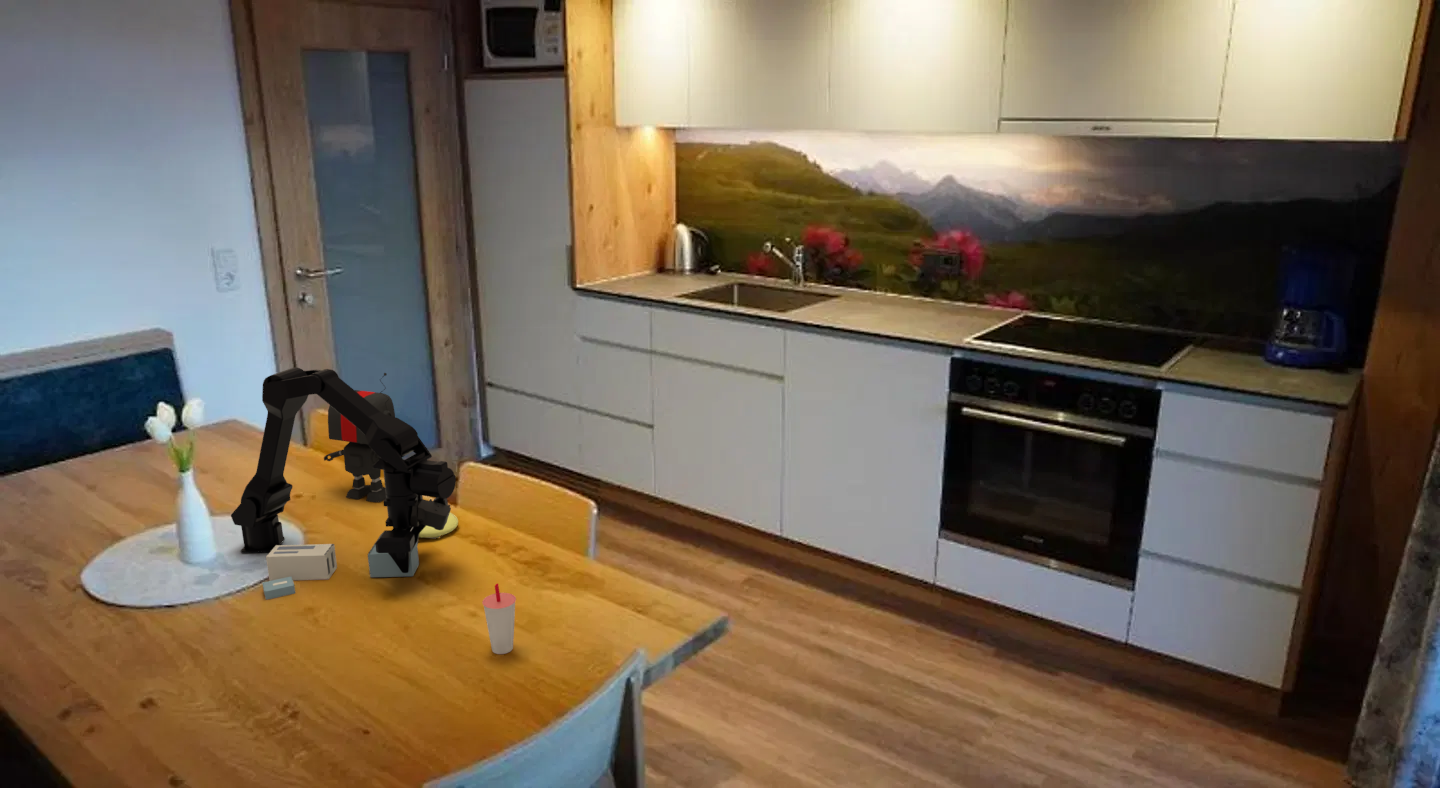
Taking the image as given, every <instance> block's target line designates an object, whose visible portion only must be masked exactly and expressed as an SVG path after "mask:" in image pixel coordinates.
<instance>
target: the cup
mask: <svg viewBox="0 0 1440 788" xmlns="http://www.w3.org/2000/svg"><path fill="white" fill-rule="evenodd" d="M499 587H500V586H499V583H495V585H494V590H495V593H492V594H490V595H487V596H486V597H484V598H483V600H482V605H483V608H484V609H483V610H484V614H485V620H486V624H487V631H488V636H489V641H490V646H491V651H492V653H494V654H497V655H504V654H508V653H511V651H512V650H513V649H514V638H515V637H514V636H515V635H514V634H515V614H516V613H515V612H516V600H517V598H516V596H515V595H514V594H512V593H508V592H500V588H499Z"/></svg>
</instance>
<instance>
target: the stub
mask: <svg viewBox="0 0 1440 788" xmlns="http://www.w3.org/2000/svg"><path fill="white" fill-rule="evenodd" d="M367 561H368V562H367V563H368V569H369V570H368V571H369V577H370V578H393V577H396V578H397V577H399V578H400V577H414V575H415V573H416V571H417V569H418V567H419V565H420V560H419V551H418V546H417V543H416V544H415V546H414V547H413V548H412V550H411V551H410V562H409V571H408V573H402V572H401V570H400V569H399V567H398V566H397V564H396V563H395V562H394V560H393V559H392V557H391V556H390V555H389V554H388V553H377V552H376V544H375V543H374V544H373V546H372V547H371V548H370V550H369V552H368V554H367Z"/></svg>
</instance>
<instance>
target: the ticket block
mask: <svg viewBox="0 0 1440 788" xmlns="http://www.w3.org/2000/svg"><path fill="white" fill-rule="evenodd" d="M336 554H337V553H336V547H335V544H334V543H323V544H322V543H321V544H320V543H317V544H314V543H313V544H311V543H310V544H283V545H282V544H280V545H276V546H275V547H274V548H273V549H272V551H271V552H268V554H267V555H266V556H265V558H266V559H265V560H266V567H267V574H268V579H269V580H268V581H272V580H277V579H282V578H286V577H292V580H293V581H317V580H330V578H331V577H332V576H333V574H334V572H335V571H336V570H337V568H338V564H337V563H338V562H337V557H336Z"/></svg>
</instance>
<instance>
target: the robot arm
mask: <svg viewBox="0 0 1440 788" xmlns="http://www.w3.org/2000/svg"><path fill="white" fill-rule="evenodd" d="M355 390H356V389H354V388H352V387H351V386H350V385H349V384H347V383H346V382H345V381H344V380H343V379H342V378H340V377H339V375H338V372H336V371H335V370H333V369H329V368H325V369H323V370H321V369H309V370H303V369H302V368H300V367H291V368H287V369H286V370H285V369H284V370H283V371H279V372H277V373H274V374H271V375H269V376H266V377H265V378H264V380H263V381H262V392H261V394H262V395H261V397H262V403H263V405H264V407H265V410H267V415H266V420H265V427H264V430H263V436H262V442H261V446H260V451H259V455H258V456H259V457H258V460H257V467H256V471H255V474H254V475H253V477H251V479H250V480H249V482H248V483H247V484H246V486H245V488H244V490H243V493H242V495H241V498H240V503H239V505H238V506H237V507H236V508H235V509H234V511H233V512H232V513H231V514H230V517H231V520H232V522H233V525H235V526H240V527H241V534H242V540H243V541H242V542H243V547H242V549H240V552H241V553H242V554H243V553H245V554H247V553H270V552H271V551H272V549H273V548H274V547H275V546H276V545H282V543H283V542H284V541H285V539H286V538H285V536H284V533H283V532H284V531H283V524H282V522H281V521H279V514H280V513H281V514H282V513H283V512H284V509H285V506H286V504H287V503H288V502H290V501H291V500H292V499H291V492H292V490H293V484H291V483H288V482H287V479H286V478H285V476H284V472H285V468H286V463H287V458H288V453H289V448H290V444H291V443H290V442H291V439H292V434H293V429H294V424H295V420H296V415H297V413H298V412H299V411H300V410H301V408H302V407H303V406H304V404H305V403H306V402H307V400H308V397H309V396H310V395H318V397H320V398H321V399H322V400H323V401H324V402H325V403H327V404H328V405H329V406H332V407H333V408H334V409H335V410H337V411H338V412H339V413H340V414H341V415H343V416H344V417H345V418H346V419H347V420H349V421H350V422H351V423H352V424H353V425H355V426H356V427H357V428H358V429H359V430H361V431H362V432H363V433H364V435H365V436H366V439H367V442H368V445H369V446H370V447H371V449H372V450H373V451H374V452H375V453H376V454H377V455H378V456H379V457H380V459H379V460H378V461H377V462H376V463H375V464H374V465H373V468H374V469H381V471H383V478H384V487H385V490H386V498H385V500H383V501H382V503H383V507H386V509H387V510H386V511H387V519H386V520H385V521H384V522H385V523H384V524H385V528H388V527H392V529H391V530H384V531H383V532H381V534H380V535H379V537H378V538H377V540H376V541H375V542H374V544H376V552H377V553H388V554H389V555H390V556H391V557H392V559H393V560H394V562H395V563H396V564H397V566H398V567H399V569H400V570H401V572H402V573H408V571H409V562H410V551H411V550H412V548H413V547H414V546H415V544H416V543H417V547H418V544H419V539H420V537H419V534H420V532H421V531H422V530H423V529H424V528H425V526H430V527H433V528H435V529H436V530H443V529H444V526H445V524H446V523H447V520H448V516H449V513H450V512H451V509H452V508H451V504H449V502H448V498H450V497H451V496H452V495H453V493H454V490H455V489H456V488H455V487H456V483H457V482H456V481H457V479H456V478H457V477H456V475H455V473H454V471H453V469H452V468H450V467H448V466H449V465H448V462H447V461H444V460H438V461H436V460H430V459H432V458H433V456H432V454H431V452H430V451H429V450H428V447H427V446H426V445H425V443H423V441H422V439H421V438H420V437H419V435H418V432H417V430H416V429H415V428H414V426H412V425H410V424H409V423H407V422H405V421H404V420H403V419H400V418H398V417H396V416H395V417H392V416H388V415H385V414H383V413H382V412H380V411H379V410H378V409H377V408H375V407H374V406H373V405H372V404H370V403H369V402H368V401H367V400H366V399H364V398H363V397H362V396H361V395H360V394H358V393H357V392H356V391H355ZM412 453H414V454H413V455H411V456H409V457H407V458H406V459H403V458H404V457H405V456H407V455H409V454H412ZM423 496H424V497H431V498H432V499H431V498H430V499H425V498H423ZM433 498H434V499H433ZM282 541H283V542H282Z"/></svg>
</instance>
